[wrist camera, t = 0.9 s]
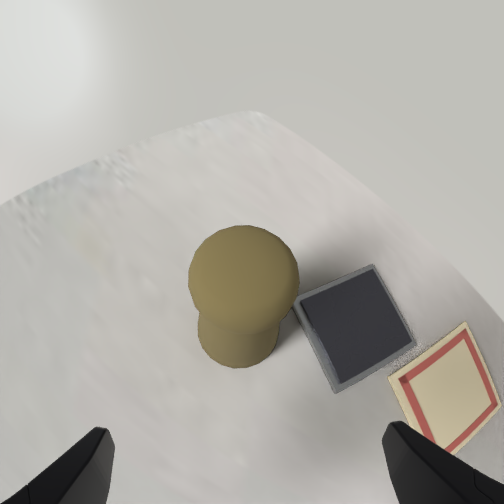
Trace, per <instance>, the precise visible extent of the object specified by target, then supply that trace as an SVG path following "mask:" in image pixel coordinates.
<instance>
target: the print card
mask: <svg viewBox="0 0 504 504" xmlns="http://www.w3.org/2000/svg"><path fill="white" fill-rule="evenodd" d="M387 378H388V380H389V382H390V384H391V386H392V388H393V390H394V392H395V395H396V397H397V399H398V401H399V403H400V405H401V407H402V410H403V412H404V414H405V416H406V418H407V421H408V423H409V425H410V427H411V428H413V429H414V430H416V431H417V432H419V433H420V434H422V435H423V436H425V437H426V438H428V439H429V440H431V441H432V442H434V443H435V444H437V445H438V446H440V447H441V448H443V449H444V450H446V451H448V452H449V453H451V454H452V455H454V454H456V453H457V452H458V451H459V450H460V449H461V448H462V447H463V446H464V445H465V444H466V443H467V442H468V441H469V440H470V439H471V438H472V437H473V436H474V435H475V434H476V433H477V432H478V431H479V430H480V429H481V428H482V427H483V426H484V425H485V424H486V423H487V422H488V421H489V420H490V419H491V418H492V417H493V416H494V414H495V413H496V412H497V411H498V410H499V409H500V408H501V406H502V405H501V402H500V399H499V396H498V394H497V391H496V388H495V386H494V383H493V381H492V378H491V376H490V373H489V371H488V368H487V366H486V364H485V361H484V359H483V357H482V355H481V352H480V350H479V348H478V346H477V344H476V341H475V339H474V337H473V335H472V333H471V331H470V329H469V327H468V325H467V323H466V321H465V322H463V323H461V324H460V325H459V326H458V327H456V328H455V329H454V330H453V331H451V332H450V333H449V334H448V335H446V336H445V337H444V338H442V339H441V340H440V341H438V342H437V343H436V344H434V345H433V346H432V347H430V348H429V349H428V350H426V351H425V352H424V353H422V354H421V355H419V356H418V357H416V358H415V359H414V360H412V361H411V362H409V363H408V364H406V365H405V366H403V367H402V368H400V369H399V370H397V371H396V372H394V373H393V374H391V375H390V376H388V377H387Z"/></svg>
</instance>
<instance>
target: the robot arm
mask: <svg viewBox="0 0 504 504" xmlns="http://www.w3.org/2000/svg"><path fill="white" fill-rule="evenodd" d="M382 445H383V449H384V453H385V457H386V462H387V466H388V470H389V474H390V478H391V481H392V484H393V487H394V490H395V493H396V495H397V498H398V501H399V504H504V484H502V483H500V482H498V481H496V480H494V479H491V478H490V477H488V476H486V475H484V474H483V473H481V472H479V471H478V470H476V469H473V467H471V466H470V465H468V464H466V463H465V462H463V461H462V460H460V459H458V458H457V457H455V456H454V455H452V454H451V453H449V452H448V451H446V450H444V449H443V448H441V447H440V446H438V445H437V444H435V443H434V442H432V441H431V440H429V439H428V438H426V437H425V436H423V435H422V434H420V433H419V432H417V431H416V430H414V429H413V428H411V427H410V426H408V425H407V424H406V423H404V422H402V421H395V422H391V423H390V424H389V425H388V427H387V429H386V431H385V433H384V435H383V438H382ZM114 452H115V445H114V442H113V439H112V437H111V435H110V432H109V430H108V429H107V428H102V427H95V428H93V429H92V430H91V431H90V432H89V433H87V434H86V435H85V436H84V437H83V438H82V439H81V440H79V441H78V442H77V443H76V444H75V445H73V446H72V447H71V448H70V449H69V450H68V451H66V452H65V453H64V454H63V455H62V456H60V457H59V458H58V459H57V460H56V461H55V462H53V463H52V464H51V465H50V466H49V467H47V468H46V469H45V470H44V471H43V472H41V473H40V474H39V475H38V476H37V477H35V478H34V479H33V480H32V481H30V482H29V483H28V485H25V486H24V487H23V488H22V489H21V490H19V491H18V492H17V493H15V494H14V495H13V496H11V497H10V498H8V499H7V500H5V501H4V502H2V503H1V504H106V501H107V497H108V493H109V488H110V482H111V474H112V466H113V459H114Z"/></svg>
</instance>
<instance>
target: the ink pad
mask: <svg viewBox="0 0 504 504" xmlns="http://www.w3.org/2000/svg"><path fill="white" fill-rule="evenodd" d="M292 307H293V309H294V311H295V313H296V315H297V317H298V319H299V321H300V323H301V325H302V327H303V330H304V332H305V334H306V336H307V338H308V340H309V342H310V344H311V346H312V348H313V350H314V352H315V354H316V356H317V358H318V360H319V362H320V364H321V367H322V369H323V371H324V373H325V375H326V377H327V379H328V381H329V383H330V385H331V387H332V389H333V391H334V393H338V392H340V391H342V390H344V389H345V388H347V387H349V386H351V385H353V384H354V383H356V382H358V381H360V380H361V379H363V378H365V377H367V376H368V375H370V374H372V373H373V372H375V371H377V370H378V369H380V368H382V367H383V366H385V365H387V364H388V363H390V362H391V361H393V360H394V359H396V358H398V357H399V356H401V355H402V354H404V353H405V352H407V351H408V350H410V349H411V348H413V347H414V346H416V343H415V341H414V339H413V337H412V335H411V333H410V331H409V329H408V327H407V325H406V323H405V321H404V319H403V317H402V315H401V314H400V312H399V310H398V308H397V306H396V304H395V303H394V301H393V299H392V297H391V295H390V293H389V292H388V290H387V288H386V286H385V285H384V283H383V281H382V279H381V278H380V276H379V274H378V272H377V271H376V269H375V267H374V266H373V264H371V265H368V266H366V267H364V268H362V269H360V270H357V271H355V272H353V273H351V274H348V275H346V276H344V277H341V278H339V279H337V280H334V281H332V282H330V283H327V284H325V285H323V286H320V287H318V288H316V289H313V290H311V291H309V292H306V293H304V294H301V295H299V296H297V298H296V300H295V302H294V304H293V305H292Z"/></svg>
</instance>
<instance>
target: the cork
mask: <svg viewBox="0 0 504 504" xmlns="http://www.w3.org/2000/svg"><path fill="white" fill-rule="evenodd" d="M299 283H300V282H299V273H298V266H297V262H296V260H295V258H294V256H293V254H292V252H291V250H290V248H289V247H288V246H287V245H286V244H285V243H284V242H283V241H282V240H281V239H280V238H279V237H277V236H276V235H274V234H272V233H270V232H269V231H267V230H265V229H262V228H258V227H254V226H250V225H244V226H232V227H229V228H226V229H222V230H219V231H218V232H216V233H214V234H213V235H211V236H210V237H208V238H207V239H205V241H204V242H203V243H202V244H201V245H200V247H199V248H198V249H197V250H196V252H195V254H194V257H193V260H192V262H191V265H190V268H189V281H188V287H189V290H190V293H191V296H192V299H193V302H194V305H195V307H196V308H197V310H198V311H199V312H200V313H199V320H198V337H199V340H200V343H201V345H202V348H203V349H204V350H205V352H206V353H207V354H208V355H209V357H210V358H212V359H213V360H215V361H216V362H218V363H219V364H221V365H224V366H227V367H231V368H248V367H250V366H253V365H256V364H258V363H260V362H261V361H263V360H264V359H265V358H266V357H267V356H269V355H270V353H271V351H272V350H273V348H274V347H275V345H276V342H277V338H278V333H279V323H280V321H281V320H282V319H283V318H284V317H285V316H286V315H287V313H288V312H289V310H290V308H291V307H292V305H293V304H294V302H295V300H296V298H297V293H298V288H299Z"/></svg>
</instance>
